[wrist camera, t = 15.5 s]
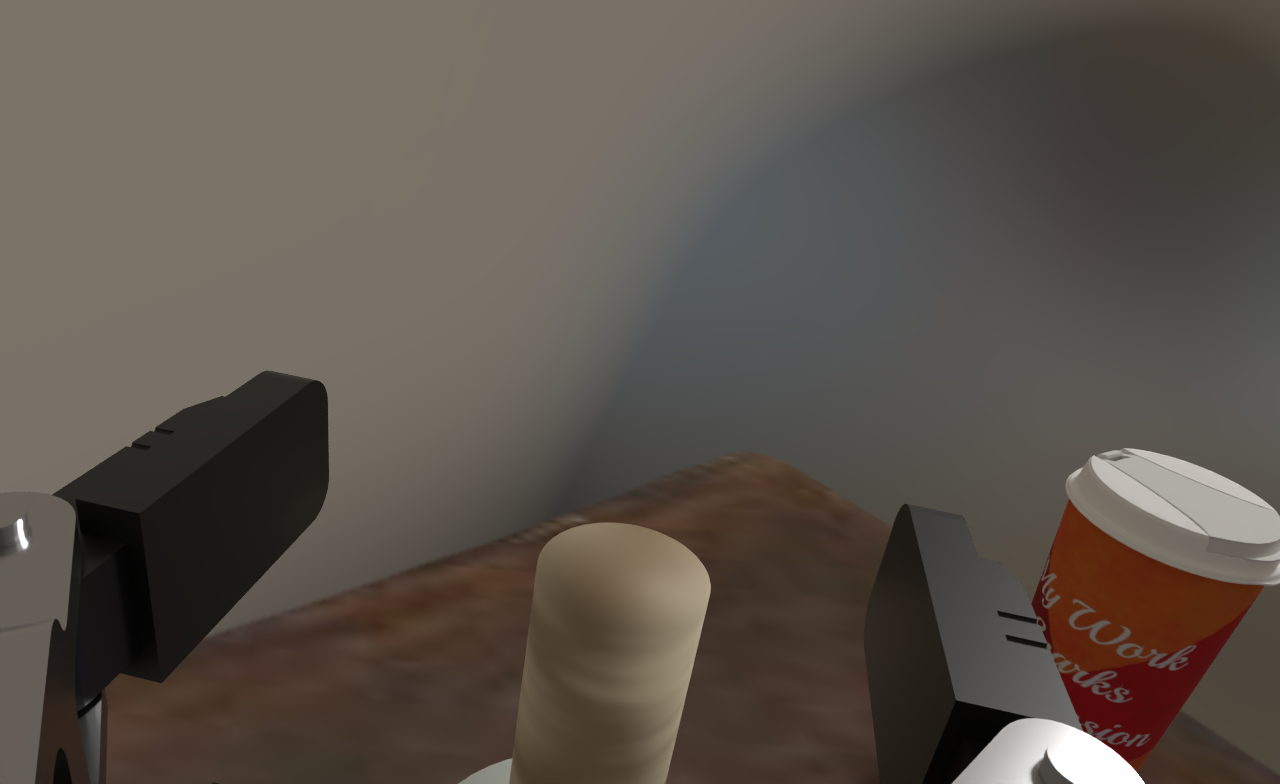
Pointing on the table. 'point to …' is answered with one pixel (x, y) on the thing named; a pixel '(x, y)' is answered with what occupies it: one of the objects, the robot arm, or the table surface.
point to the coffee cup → (1149, 588)
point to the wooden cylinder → (608, 656)
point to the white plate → (491, 774)
